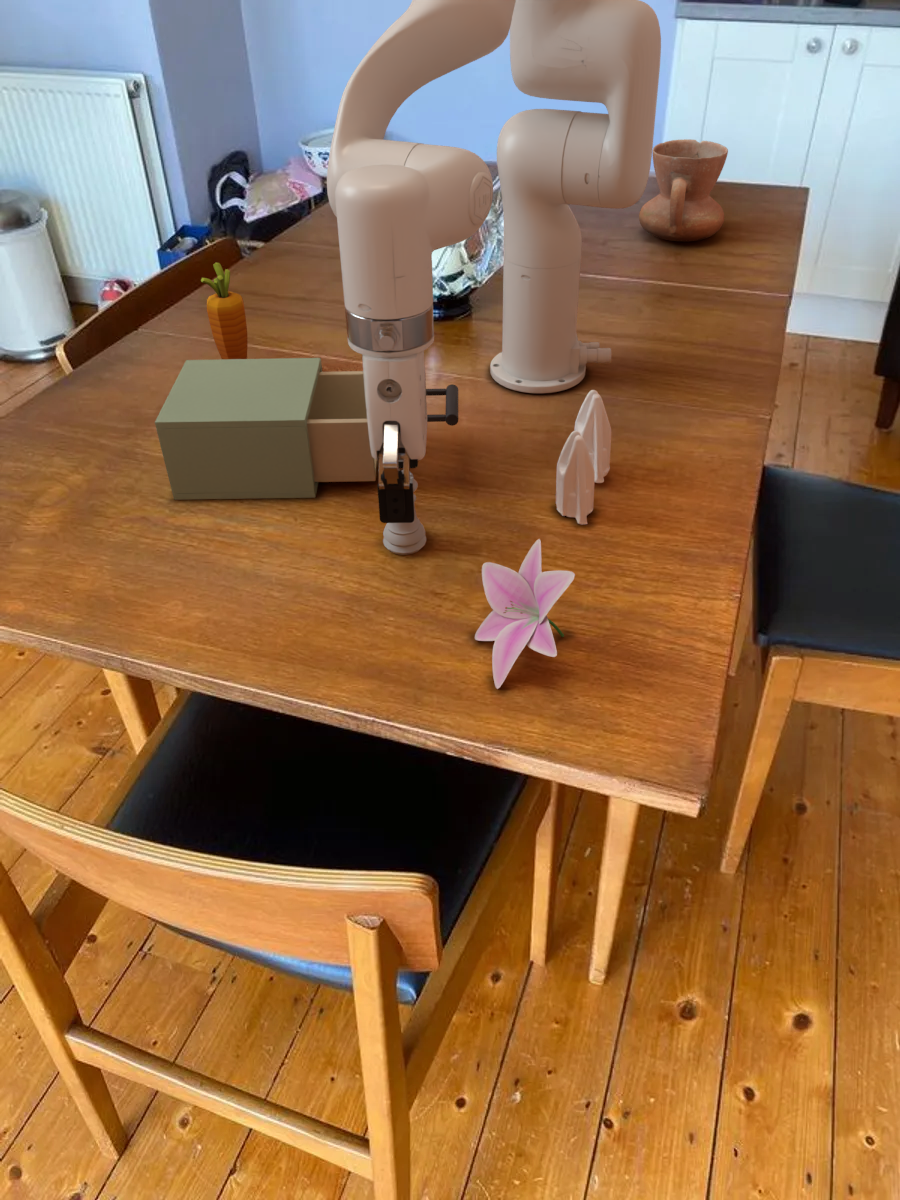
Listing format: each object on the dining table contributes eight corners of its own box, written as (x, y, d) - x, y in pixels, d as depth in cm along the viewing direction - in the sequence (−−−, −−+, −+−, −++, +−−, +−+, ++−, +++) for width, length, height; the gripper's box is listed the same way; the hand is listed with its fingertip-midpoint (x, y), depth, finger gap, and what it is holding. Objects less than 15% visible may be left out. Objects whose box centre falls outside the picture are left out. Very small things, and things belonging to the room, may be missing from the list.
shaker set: (578, 462, 107) (584, 372, 100) (614, 468, 106) (623, 378, 99) (548, 518, 98) (553, 425, 91) (586, 526, 97) (595, 432, 90)
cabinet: (329, 431, 114) (320, 357, 108) (315, 497, 102) (304, 419, 96) (201, 433, 114) (186, 359, 108) (173, 499, 103) (154, 422, 97)
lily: (489, 600, 90) (445, 547, 83) (607, 572, 85) (571, 513, 78) (489, 714, 83) (441, 667, 76) (616, 690, 79) (578, 638, 72)
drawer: (459, 425, 112) (458, 364, 107) (459, 485, 102) (458, 422, 97) (283, 427, 113) (274, 367, 108) (265, 488, 102) (254, 425, 97)
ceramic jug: (649, 215, 172) (659, 132, 163) (729, 224, 168) (743, 138, 159) (624, 248, 160) (633, 159, 151) (709, 258, 155) (724, 167, 146)
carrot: (249, 387, 123) (229, 274, 113) (213, 385, 124) (191, 272, 114) (262, 370, 127) (244, 260, 117) (228, 368, 127) (207, 258, 118)
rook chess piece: (375, 551, 95) (369, 484, 90) (394, 527, 98) (389, 461, 93) (416, 560, 93) (412, 493, 88) (433, 536, 96) (430, 469, 91)
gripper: (431, 367, 74) (436, 544, 84) (435, 286, 87) (439, 448, 98) (336, 368, 74) (353, 545, 85) (355, 287, 87) (368, 448, 98)
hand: (399, 493), depth 91 cm, fingers open, 9 cm apart
